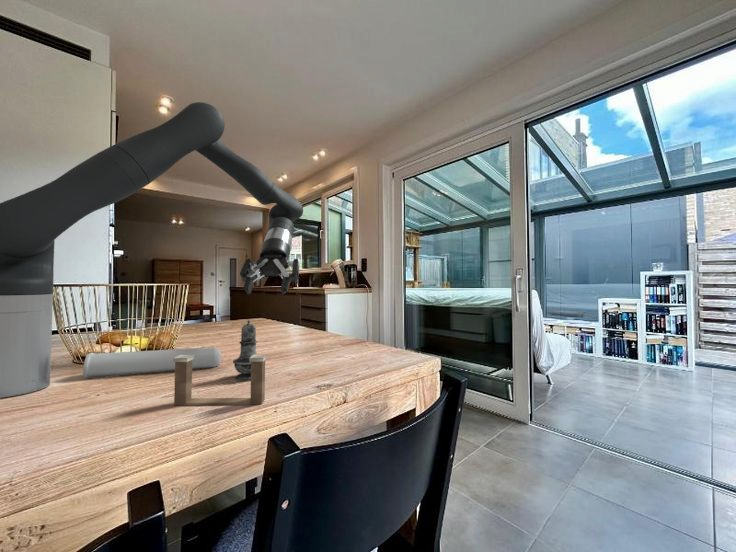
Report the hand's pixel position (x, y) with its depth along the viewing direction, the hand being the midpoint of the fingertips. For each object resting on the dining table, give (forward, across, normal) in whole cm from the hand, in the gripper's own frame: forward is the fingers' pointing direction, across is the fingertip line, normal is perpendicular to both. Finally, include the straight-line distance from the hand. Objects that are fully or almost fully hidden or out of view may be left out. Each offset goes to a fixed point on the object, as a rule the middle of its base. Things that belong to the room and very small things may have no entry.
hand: (265, 291), depth 77 cm
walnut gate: (+30, 0, -7) cm, 30 cm away
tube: (+17, -22, +7) cm, 29 cm away
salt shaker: (+20, 0, +4) cm, 21 cm away
